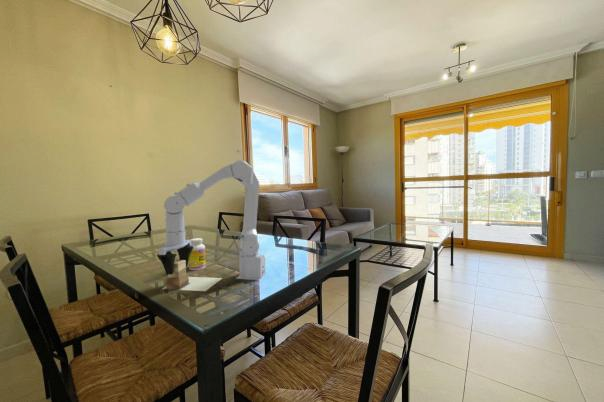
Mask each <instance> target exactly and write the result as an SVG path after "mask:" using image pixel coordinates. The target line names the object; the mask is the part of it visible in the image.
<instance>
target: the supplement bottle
mask: <svg viewBox="0 0 604 402" xmlns="http://www.w3.org/2000/svg"><path fill="white" fill-rule="evenodd" d="M190 240H191V245H189V246H193V250H192V252H191V254H190V257H189V261H188V268H189V269H188V270H190V271H198V270H202V269H205V268H206V264H207V263H206V261H207V260H206V246H205V244H203V238H202V237H197V238H191V239H190Z"/></svg>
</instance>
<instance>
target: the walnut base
mask: <svg viewBox="0 0 604 402" xmlns="http://www.w3.org/2000/svg"><path fill="white" fill-rule="evenodd" d="M189 277H190V276H189V273H186V275H184V276H182V277H180V278H168V276H167V277H166V278H165V287H166V288H168V289H167V290H172V289H181V288H182V287H184V286H186V285H187V284H189Z"/></svg>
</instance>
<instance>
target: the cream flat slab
mask: <svg viewBox="0 0 604 402" xmlns="http://www.w3.org/2000/svg"><path fill="white" fill-rule="evenodd" d="M222 279H223V277H205V276H204V277H201V276H189V284H187V285H186V286H184V287H182V288H181V289H171V290H175V291H178V290H179V291H196V292H206V291H208V290H209V289H210V288H211V287H213V286H214V285H215V284H217V283H218V282H220V281H221V280H222ZM161 290H169V289H168V288H166V286H164V287H162V288H161Z"/></svg>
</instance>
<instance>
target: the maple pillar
mask: <svg viewBox="0 0 604 402" xmlns="http://www.w3.org/2000/svg"><path fill="white" fill-rule="evenodd" d="M186 274H187V267H186V260H180V259H175V261H174V272H173V274H167V277H168V278H180V277H182V276H184V275H186Z"/></svg>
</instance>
